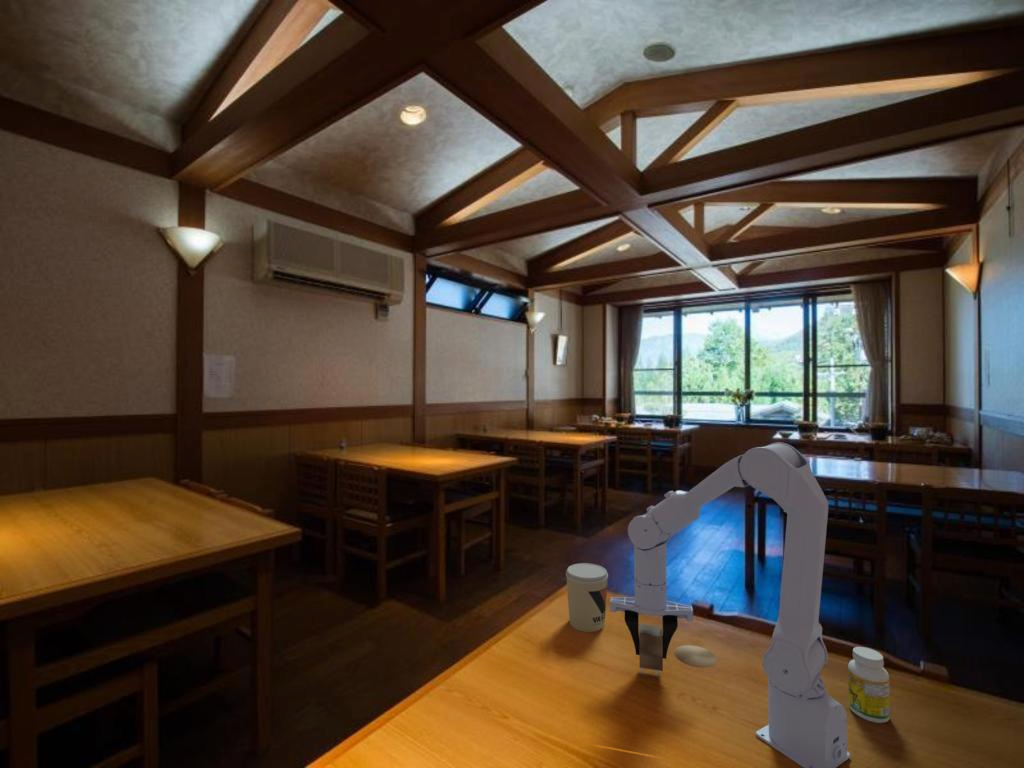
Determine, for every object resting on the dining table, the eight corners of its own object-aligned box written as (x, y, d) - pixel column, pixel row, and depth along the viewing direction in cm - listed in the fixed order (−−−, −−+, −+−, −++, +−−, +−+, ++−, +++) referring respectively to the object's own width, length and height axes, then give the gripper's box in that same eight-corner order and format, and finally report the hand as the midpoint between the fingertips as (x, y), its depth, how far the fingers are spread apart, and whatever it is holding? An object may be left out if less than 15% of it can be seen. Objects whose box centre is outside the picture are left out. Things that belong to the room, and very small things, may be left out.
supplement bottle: (895, 727, 74) (894, 665, 74) (853, 719, 76) (853, 658, 76) (882, 706, 79) (882, 648, 79) (844, 698, 81) (843, 641, 81)
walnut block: (661, 658, 89) (661, 626, 89) (662, 670, 85) (662, 637, 86) (639, 655, 90) (639, 623, 90) (639, 667, 86) (639, 634, 87)
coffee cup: (598, 639, 101) (598, 581, 101) (558, 627, 106) (558, 572, 106) (614, 620, 108) (614, 567, 109) (577, 610, 114) (576, 559, 114)
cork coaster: (724, 660, 92) (724, 659, 92) (698, 672, 89) (698, 671, 89) (692, 642, 99) (692, 641, 99) (666, 652, 95) (666, 651, 95)
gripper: (690, 575, 90) (690, 647, 90) (611, 568, 94) (611, 637, 94) (694, 590, 83) (694, 669, 83) (609, 582, 87) (609, 657, 87)
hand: (650, 653), depth 88 cm, fingers closed on walnut block, 4 cm apart
